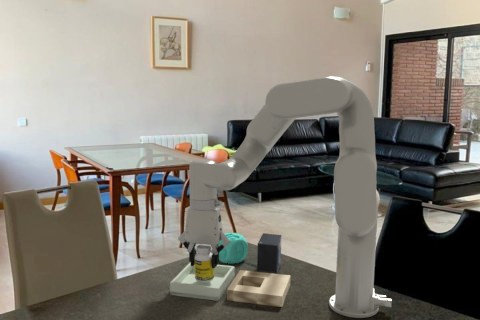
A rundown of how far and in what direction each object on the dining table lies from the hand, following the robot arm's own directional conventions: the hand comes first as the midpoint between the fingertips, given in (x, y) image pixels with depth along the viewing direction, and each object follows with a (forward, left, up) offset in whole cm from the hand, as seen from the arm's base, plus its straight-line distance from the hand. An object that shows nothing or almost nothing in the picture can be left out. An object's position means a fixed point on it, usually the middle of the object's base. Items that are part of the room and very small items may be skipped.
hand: (204, 264), depth 135 cm
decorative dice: (-2, -22, -7) cm, 23 cm away
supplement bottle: (0, 0, -5) cm, 5 cm away
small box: (-16, -16, -7) cm, 23 cm away
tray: (0, 0, -6) cm, 6 cm away
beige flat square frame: (-16, 0, -6) cm, 18 cm away
